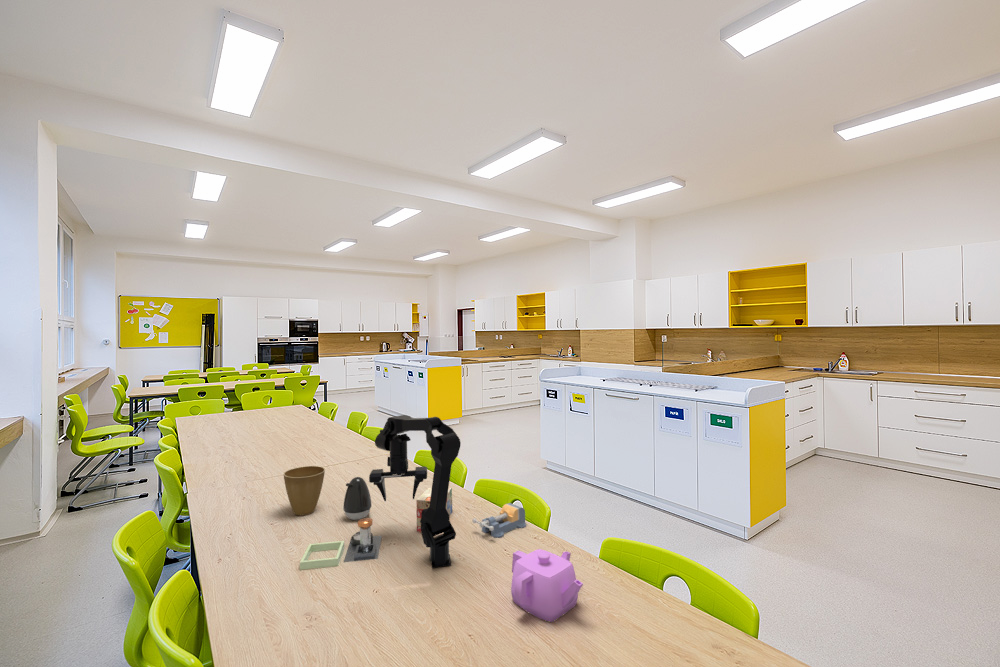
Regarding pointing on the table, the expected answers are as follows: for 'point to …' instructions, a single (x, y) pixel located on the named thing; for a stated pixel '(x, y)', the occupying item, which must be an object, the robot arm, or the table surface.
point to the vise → (503, 521)
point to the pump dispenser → (357, 499)
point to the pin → (365, 534)
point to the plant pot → (304, 488)
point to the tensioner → (354, 549)
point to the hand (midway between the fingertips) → (399, 499)
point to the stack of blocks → (424, 503)
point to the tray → (322, 562)
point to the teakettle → (544, 583)
